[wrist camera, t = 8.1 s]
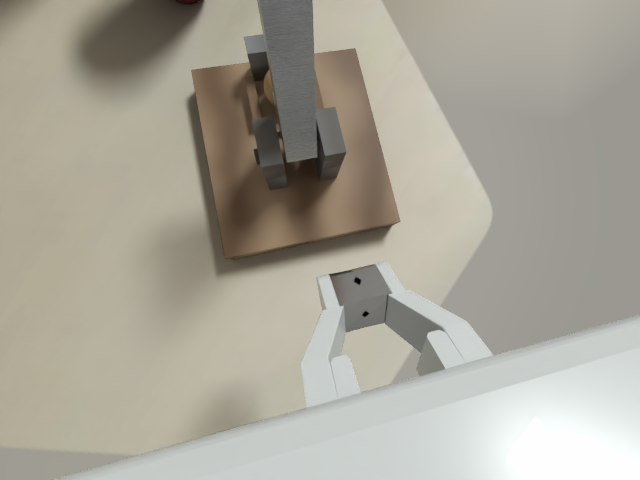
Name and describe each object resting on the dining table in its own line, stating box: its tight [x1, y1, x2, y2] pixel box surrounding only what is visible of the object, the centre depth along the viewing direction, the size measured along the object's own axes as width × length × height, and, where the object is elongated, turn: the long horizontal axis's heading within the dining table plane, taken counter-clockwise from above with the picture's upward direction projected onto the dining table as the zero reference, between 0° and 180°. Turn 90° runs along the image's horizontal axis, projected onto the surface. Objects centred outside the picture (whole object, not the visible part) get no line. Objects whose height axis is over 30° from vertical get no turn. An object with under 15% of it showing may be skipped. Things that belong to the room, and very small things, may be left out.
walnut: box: [264, 70, 275, 107], centre depth 22 cm, size 4×4×4 cm
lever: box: [257, 0, 317, 163], centre depth 14 cm, size 3×5×14 cm, turn 13°
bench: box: [191, 35, 400, 259], centre depth 21 cm, size 16×18×7 cm
